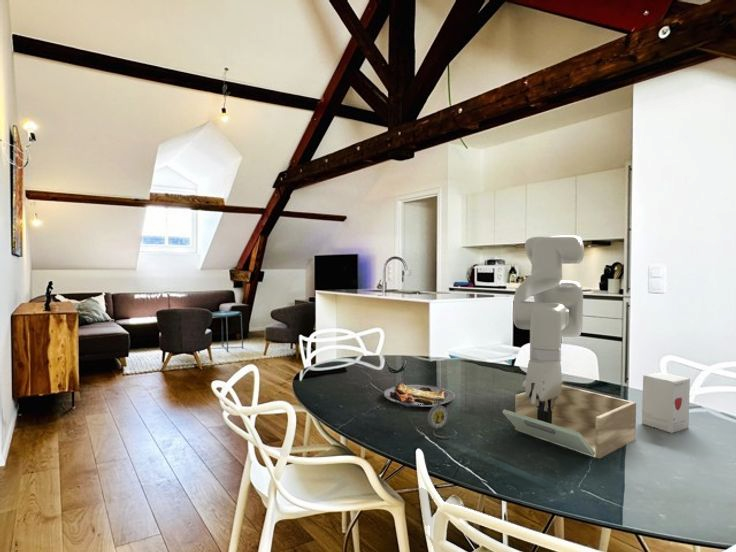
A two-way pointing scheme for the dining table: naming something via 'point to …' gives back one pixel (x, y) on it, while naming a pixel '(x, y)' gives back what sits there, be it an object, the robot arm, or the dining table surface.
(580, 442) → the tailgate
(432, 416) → the pocket watch
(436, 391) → the food plate
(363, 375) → the dining table surface
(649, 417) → the supplement box
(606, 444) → the crate
